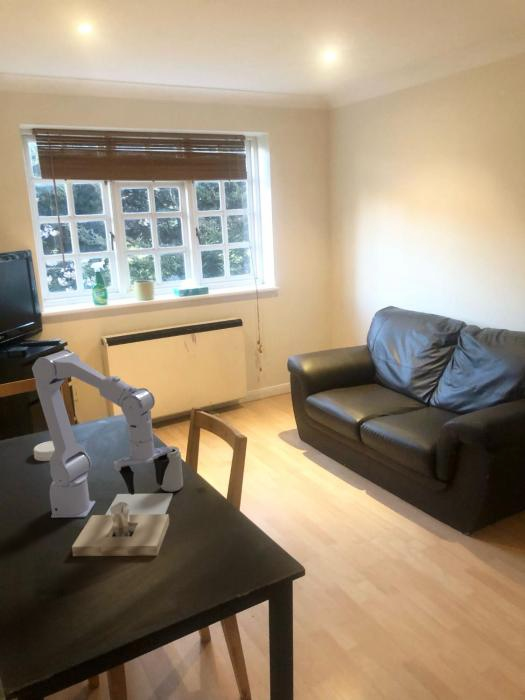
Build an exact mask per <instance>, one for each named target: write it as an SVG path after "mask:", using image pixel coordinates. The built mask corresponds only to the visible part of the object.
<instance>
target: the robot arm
mask: <svg viewBox="0 0 525 700" xmlns="http://www.w3.org/2000/svg"><path fill="white" fill-rule="evenodd" d="M31 370H32V372H33V373H32V374H33V377H34V380H35V388H36V392H37V395H38V398H39V402H40V405H41V407H42V411H43V414H44V415H43V416H44V418H45V421H46V425H47V428H48V431H49V435H50V438H51V441H53V445H54V448H55V450H54V452H53V454H52V456H51V458H50V460H49V461H48V462H49V466H50V477H51V479H52V482H51V484H50V486H49V500H50V507H51V513H52V514H51V518H86V517H87V516H88V514H89V513H90V511H91V509H92V508H93V506H94V505H95V504H96V500H90V493H89V485H88V479H87V478H88V476H89V473H88V472H89V471H90V470H91V469H92V461H91V457H90V456H89V454H88V453H87V452H86V449H85V446H84V445H81V444H79V443H77V442H76V439H75V436H74V435H75V434H74V432H73V429H72V425H71V423H70V419H69V416H68V412H67V408H66V404H65V403H64V399H63V395H62V392H61V386H62V384H63V383H64V382H65V380H66V379H68V378H75V379H77V380H80V381H81V382H83V383H85V384H87V385H90V386H92V387H94V388H95V389H97V390H98V392H99V394H100V396H101V397H102V398H104V399H106V400H107V401H109V402H111V403H112V404H115V405H116V406H117V407H119V408H121V411H122V414H123V415H124V416H125V419H126V423H127V427H128V437H129V438H128V440H129V449H130V454H128V455H126V456H124V457H121V458H120V459H117V460H114V461H113V470H114V471H116V472H119V474H120V475H121V477H122V479H123V481H124V483H125V486H126V488H127V491H128V494H131V495H133V494H135V486H134V484H135V483H134V475H135V472H134V471H133V470H132V466H136V465H139V464H150V463H152V462H153V464H154V470H155V481H156V484H157V485H158V486H160V487H161V485H162V484H163V478H164V474H165V471H166V468H167V466H168V464H169V458H168V457H167V456H171V448H169V446H168V445H167V446H163V447H155V445H154V433H153V423H152V422H153V420H152V409H154V406H155V401H156V400H155V396H154V395H153V393H152V392H151V391H150V390H149V389H147V388H145V387H141V388H137V387H135V386H134V385H130V384H129V383H127V382H125V381H123V380H121V377H120V376H117V375H116V376H114V375H110V376H108V377H107V376H106V375H104V374H102V373H101V372H99V371H98V370H96V368H93V367H92V366H90V365H89V364H87V363H86V362H84V361H83V360H81V358H80V355H79V354H77V353H75V352H73V351H72V350H71V349H62V350H60V351H58V352H55V353H52V354H49V355H46V356H41V357H38V358H37V359H36V360H35V361H34V364H32V367H31Z"/></svg>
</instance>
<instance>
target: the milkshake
mask: <svg viewBox="0 0 525 700" xmlns="http://www.w3.org/2000/svg"><path fill="white" fill-rule="evenodd" d="M110 511H111V515H112V520H113V524H114V530H115V533H114V535H115V537H131V532H130V519H129V515H130V507H129V505H128V504H127V503H124V502H119V503H116V504H114V505H113V506H112V507H111V509H110Z"/></svg>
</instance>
